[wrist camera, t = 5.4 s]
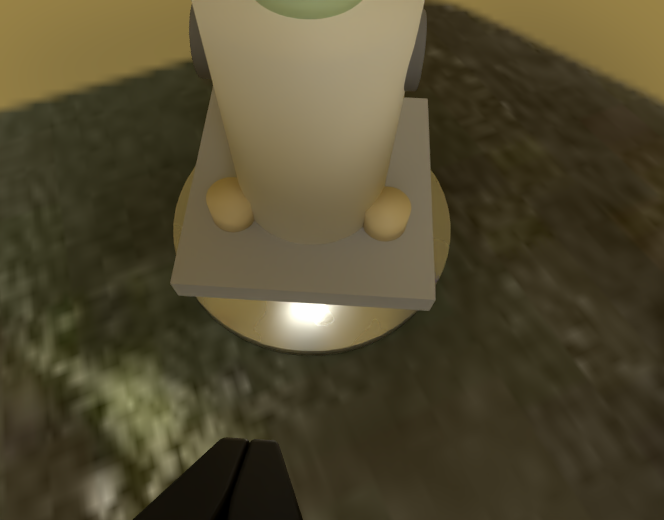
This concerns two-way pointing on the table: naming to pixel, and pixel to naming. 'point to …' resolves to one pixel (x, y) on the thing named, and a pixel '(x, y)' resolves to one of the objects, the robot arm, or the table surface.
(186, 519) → the robot arm
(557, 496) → the table surface
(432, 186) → the levelling stand
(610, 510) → the table surface
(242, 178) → the yellow cylinder stand
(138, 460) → the table surface
